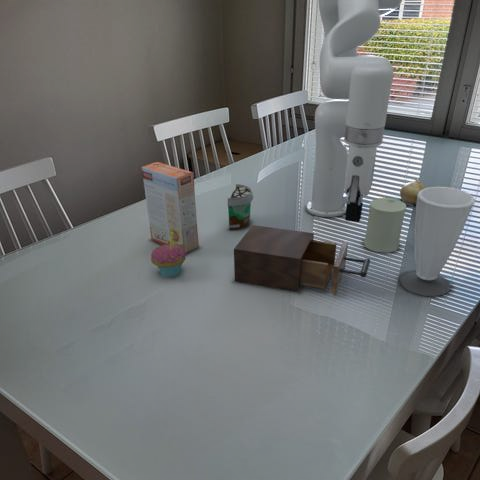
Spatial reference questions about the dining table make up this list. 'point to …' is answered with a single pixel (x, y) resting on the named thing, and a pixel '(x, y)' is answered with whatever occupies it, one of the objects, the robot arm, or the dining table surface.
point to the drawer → (327, 265)
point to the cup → (436, 237)
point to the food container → (240, 207)
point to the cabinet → (271, 257)
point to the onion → (411, 192)
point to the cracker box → (171, 205)
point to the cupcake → (168, 258)
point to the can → (384, 224)
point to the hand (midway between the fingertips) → (352, 219)
